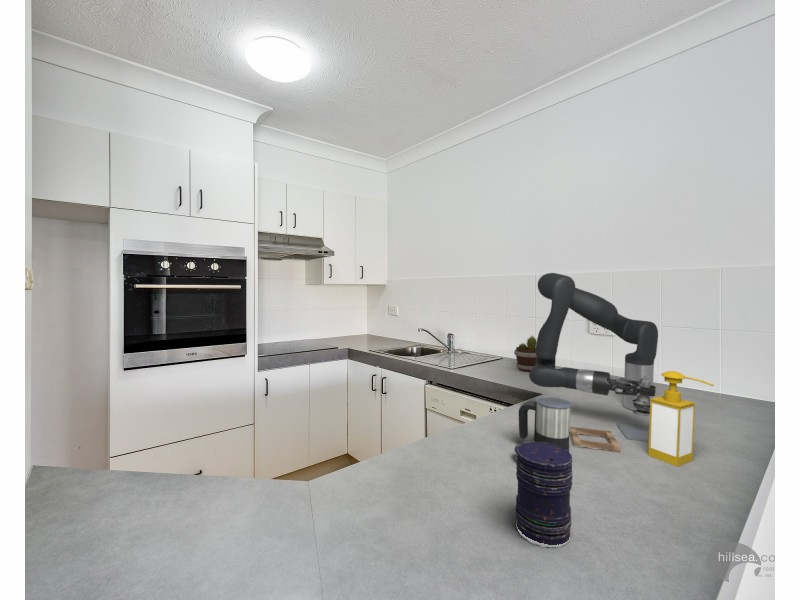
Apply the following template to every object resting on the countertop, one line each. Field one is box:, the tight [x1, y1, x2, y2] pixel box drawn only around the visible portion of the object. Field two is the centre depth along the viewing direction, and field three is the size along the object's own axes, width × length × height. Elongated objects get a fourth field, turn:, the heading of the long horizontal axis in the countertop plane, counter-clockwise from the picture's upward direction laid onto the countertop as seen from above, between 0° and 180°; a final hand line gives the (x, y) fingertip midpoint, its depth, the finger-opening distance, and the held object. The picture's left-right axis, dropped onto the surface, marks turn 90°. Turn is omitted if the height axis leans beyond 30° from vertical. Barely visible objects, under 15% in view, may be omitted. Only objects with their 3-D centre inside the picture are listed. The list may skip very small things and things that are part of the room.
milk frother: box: [514, 396, 573, 455], centre depth 100 cm, size 14×16×15 cm
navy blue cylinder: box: [514, 441, 573, 545], centre depth 71 cm, size 10×10×15 cm
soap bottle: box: [647, 370, 715, 467], centre depth 98 cm, size 7×13×24 cm, turn 27°
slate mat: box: [616, 422, 649, 442], centre depth 118 cm, size 12×12×1 cm
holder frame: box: [569, 426, 622, 453], centre depth 112 cm, size 12×12×2 cm
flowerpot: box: [513, 334, 537, 373], centre depth 205 cm, size 14×15×20 cm
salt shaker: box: [632, 376, 650, 417], centre depth 117 cm, size 6×6×12 cm
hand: (654, 391), depth 115 cm, fingers closed on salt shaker, 3 cm apart
